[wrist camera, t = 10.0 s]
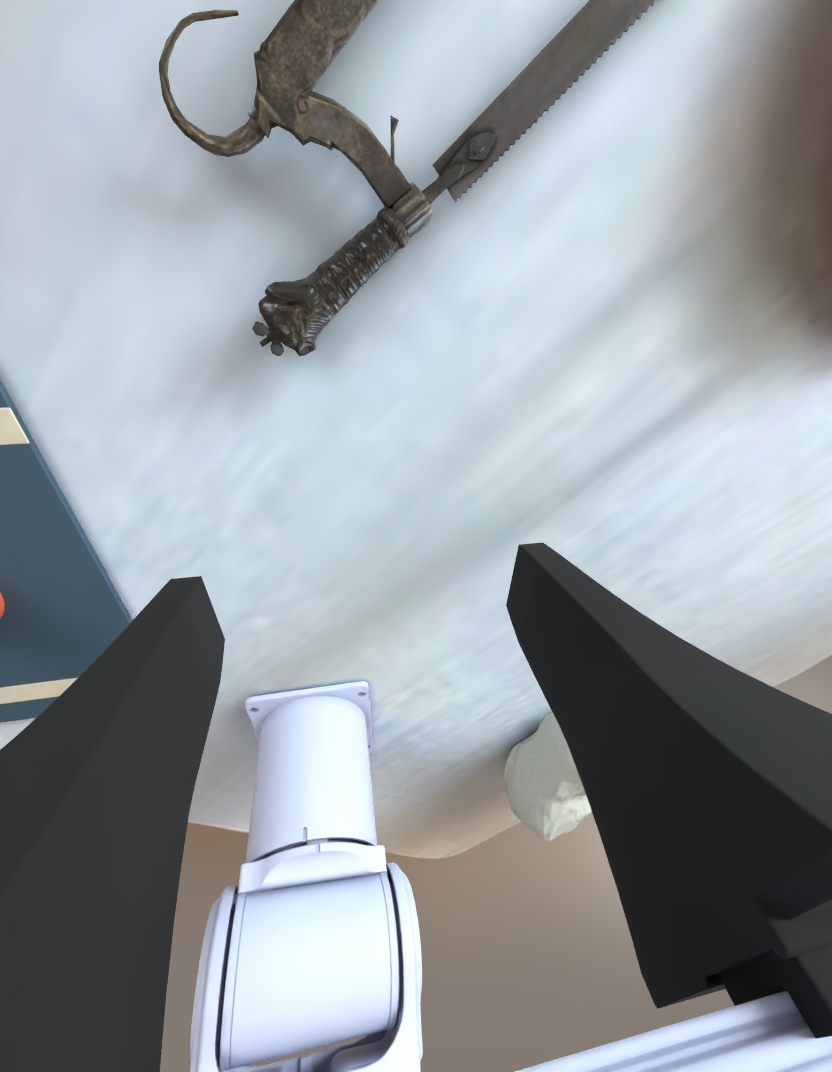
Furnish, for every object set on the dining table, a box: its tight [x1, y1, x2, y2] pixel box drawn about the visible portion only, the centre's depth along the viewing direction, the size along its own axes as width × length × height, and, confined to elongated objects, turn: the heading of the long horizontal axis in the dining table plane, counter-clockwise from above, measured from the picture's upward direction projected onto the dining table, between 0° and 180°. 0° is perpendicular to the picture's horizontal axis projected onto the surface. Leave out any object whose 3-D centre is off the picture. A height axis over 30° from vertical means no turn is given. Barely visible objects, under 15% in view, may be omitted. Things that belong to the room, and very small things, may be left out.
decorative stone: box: [505, 712, 592, 842], centre depth 36 cm, size 11×9×10 cm
